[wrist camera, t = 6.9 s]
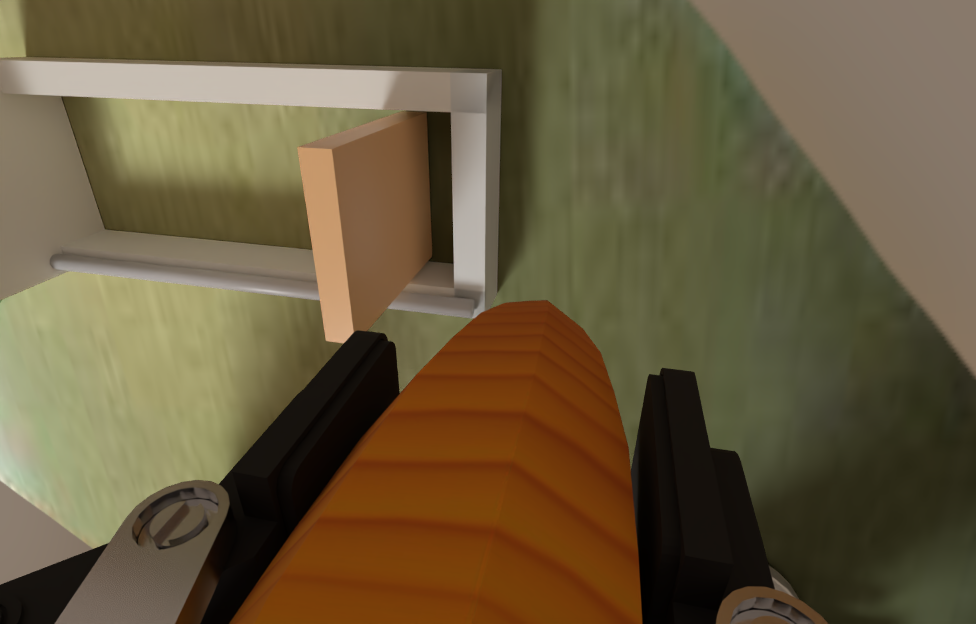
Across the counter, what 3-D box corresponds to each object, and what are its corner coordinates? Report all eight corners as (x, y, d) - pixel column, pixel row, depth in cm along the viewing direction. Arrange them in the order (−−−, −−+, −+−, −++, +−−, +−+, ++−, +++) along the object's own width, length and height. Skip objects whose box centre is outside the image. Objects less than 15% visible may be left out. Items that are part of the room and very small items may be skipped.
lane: (501, 69, 24) (459, 81, 18) (497, 293, 29) (463, 362, 23) (25, 56, 29) (-136, 62, 23) (92, 250, 34) (-24, 297, 28)
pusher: (426, 112, 25) (331, 149, 17) (432, 256, 28) (354, 344, 20) (343, 108, 26) (215, 142, 18) (358, 249, 29) (255, 331, 21)
